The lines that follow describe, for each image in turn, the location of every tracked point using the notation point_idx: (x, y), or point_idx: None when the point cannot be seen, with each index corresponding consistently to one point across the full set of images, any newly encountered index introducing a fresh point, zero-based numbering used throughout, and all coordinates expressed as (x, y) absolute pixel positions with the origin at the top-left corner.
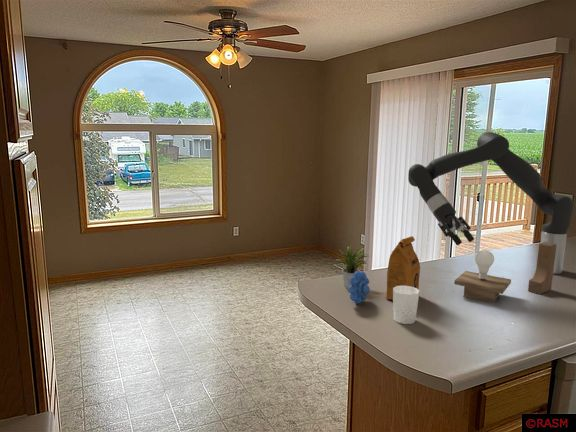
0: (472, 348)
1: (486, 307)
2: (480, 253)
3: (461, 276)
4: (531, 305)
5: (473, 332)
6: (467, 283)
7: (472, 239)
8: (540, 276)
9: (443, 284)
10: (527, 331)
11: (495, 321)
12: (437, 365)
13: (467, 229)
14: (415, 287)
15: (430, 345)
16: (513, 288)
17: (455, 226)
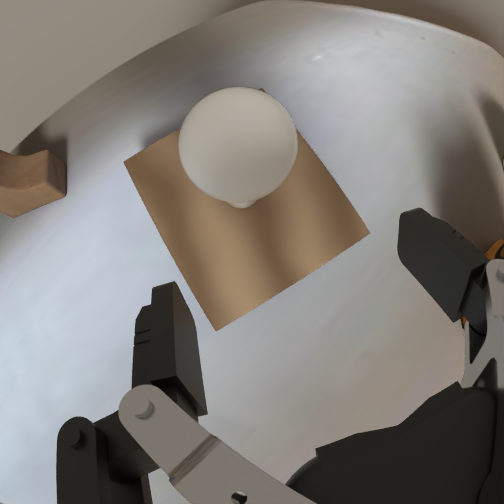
0: (447, 52)
1: (310, 133)
2: (283, 120)
3: (303, 265)
4: (166, 106)
5: (424, 72)
6: (338, 187)
7: (176, 291)
8: (16, 170)
9: (294, 368)
10: (317, 31)
11: (351, 75)
12: (496, 61)
13: (157, 404)
14: (500, 247)
15: (497, 90)
16: (79, 232)
17: (465, 407)
